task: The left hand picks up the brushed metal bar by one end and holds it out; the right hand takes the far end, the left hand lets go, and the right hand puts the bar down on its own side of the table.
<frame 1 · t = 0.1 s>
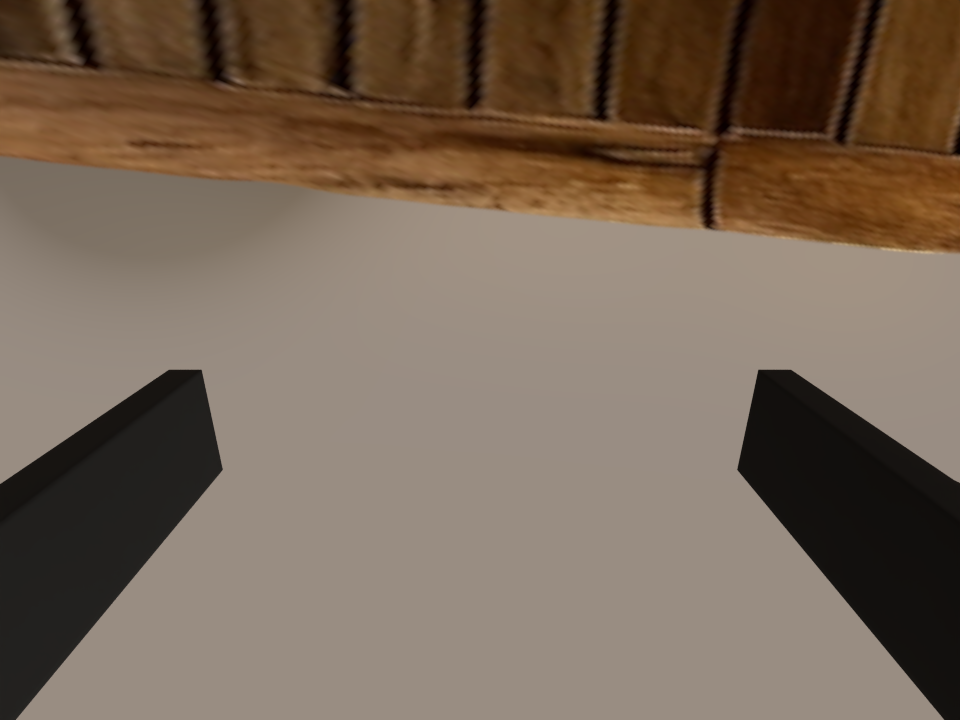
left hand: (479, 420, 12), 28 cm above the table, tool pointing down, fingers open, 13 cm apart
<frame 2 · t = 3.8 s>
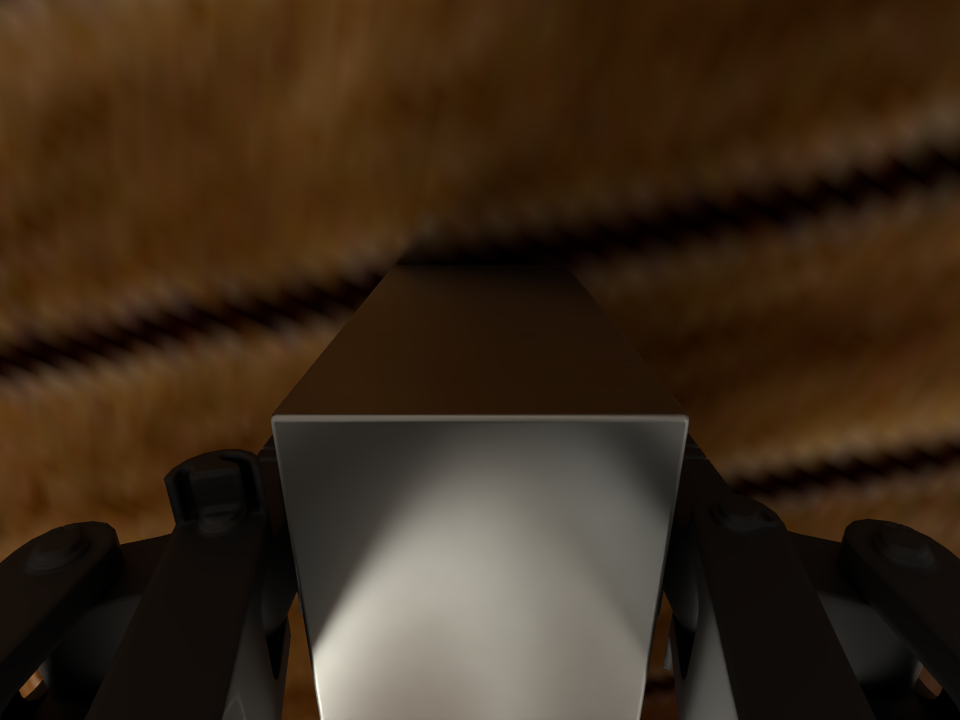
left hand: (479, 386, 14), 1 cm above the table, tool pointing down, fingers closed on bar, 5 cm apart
bar: (480, 611, 18), on the table, touching left hand
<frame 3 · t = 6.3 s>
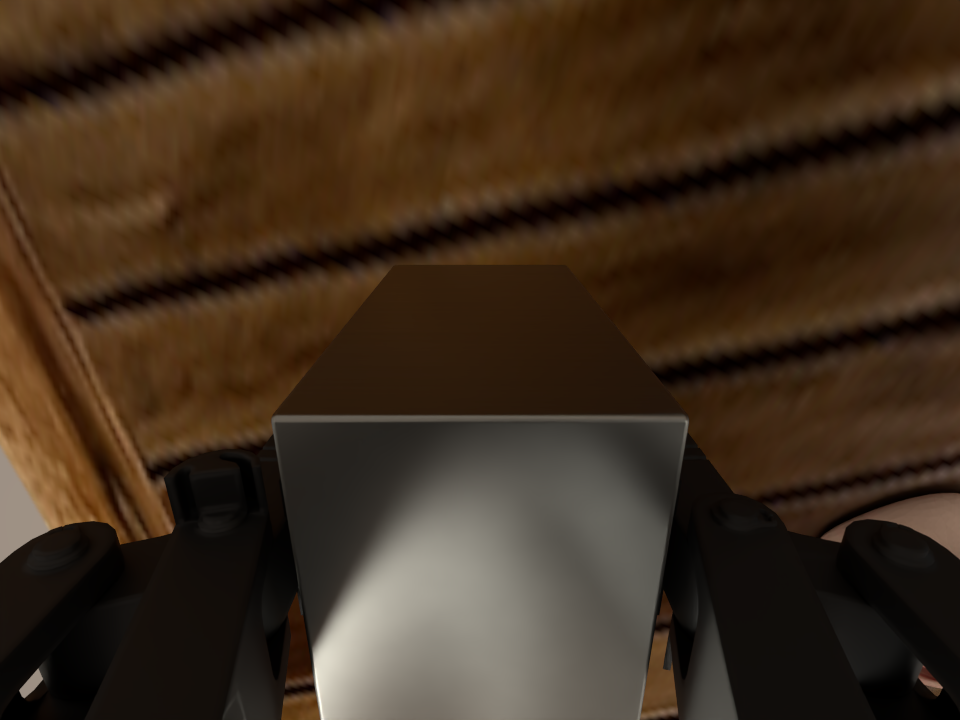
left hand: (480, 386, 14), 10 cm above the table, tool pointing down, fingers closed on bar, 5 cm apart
anatomical model: (917, 576, 29), on the table
bar: (480, 611, 18), point 9 cm above the table, touching left hand
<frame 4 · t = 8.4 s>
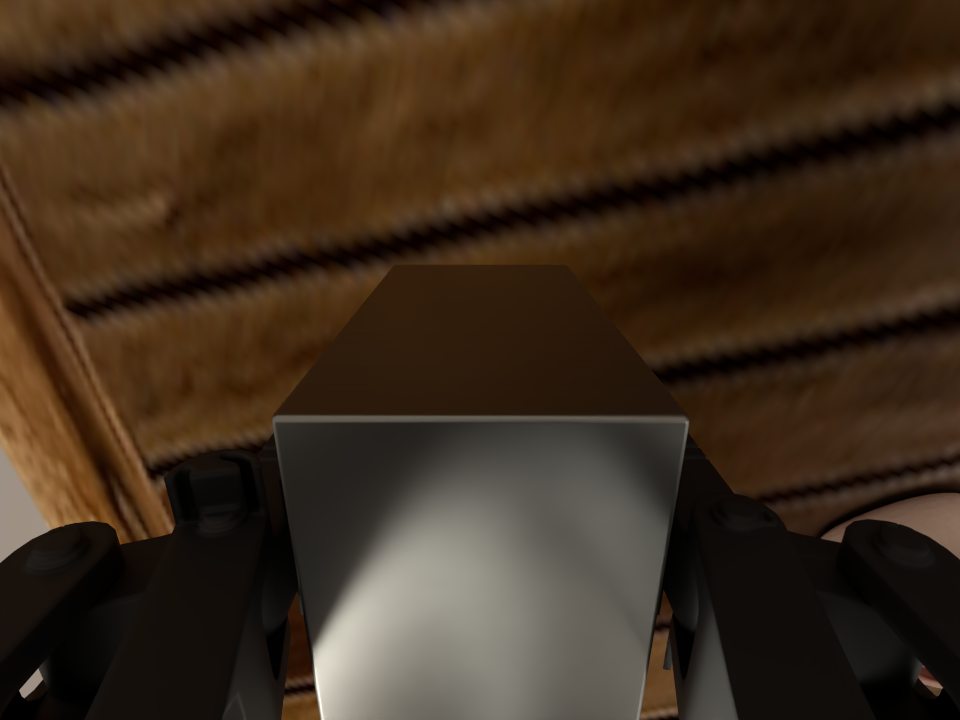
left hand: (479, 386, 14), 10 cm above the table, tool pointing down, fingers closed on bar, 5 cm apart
anatomical model: (917, 576, 29), on the table
bar: (479, 611, 18), point 9 cm above the table, touching left hand, right hand
when the left hand's fingers open (10 cm above the table, at t = 9.0 s): bar stays where it is, held by the right hand.
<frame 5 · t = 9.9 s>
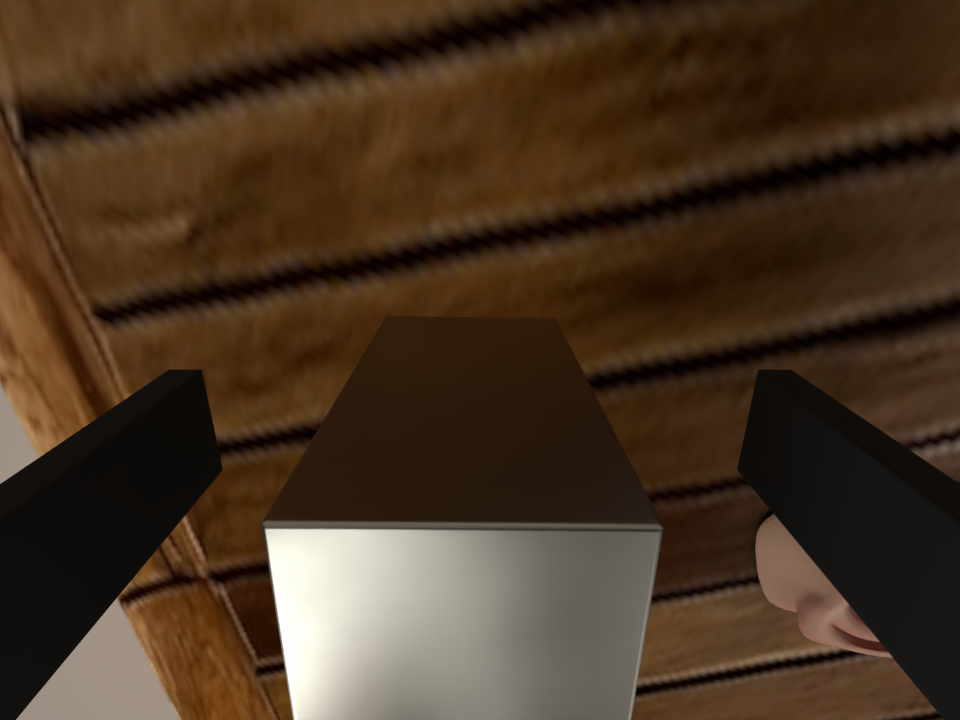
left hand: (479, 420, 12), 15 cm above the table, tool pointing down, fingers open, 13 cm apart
anatomical model: (850, 556, 33), on the table
bar: (468, 649, 18), point 12 cm above the table, touching right hand
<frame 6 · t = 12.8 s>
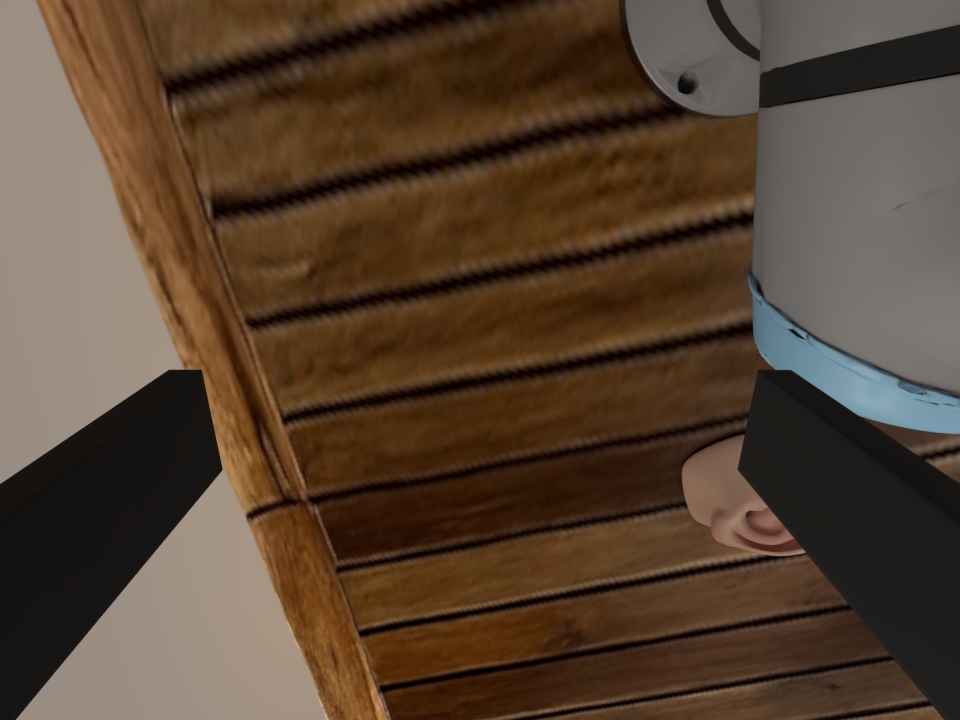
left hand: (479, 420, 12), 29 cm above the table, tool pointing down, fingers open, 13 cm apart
anatomical model: (750, 486, 47), on the table
when the right hand's fingers open (2 cm above the table, at t = 17.1 s): bar drops 1 cm, on the table.
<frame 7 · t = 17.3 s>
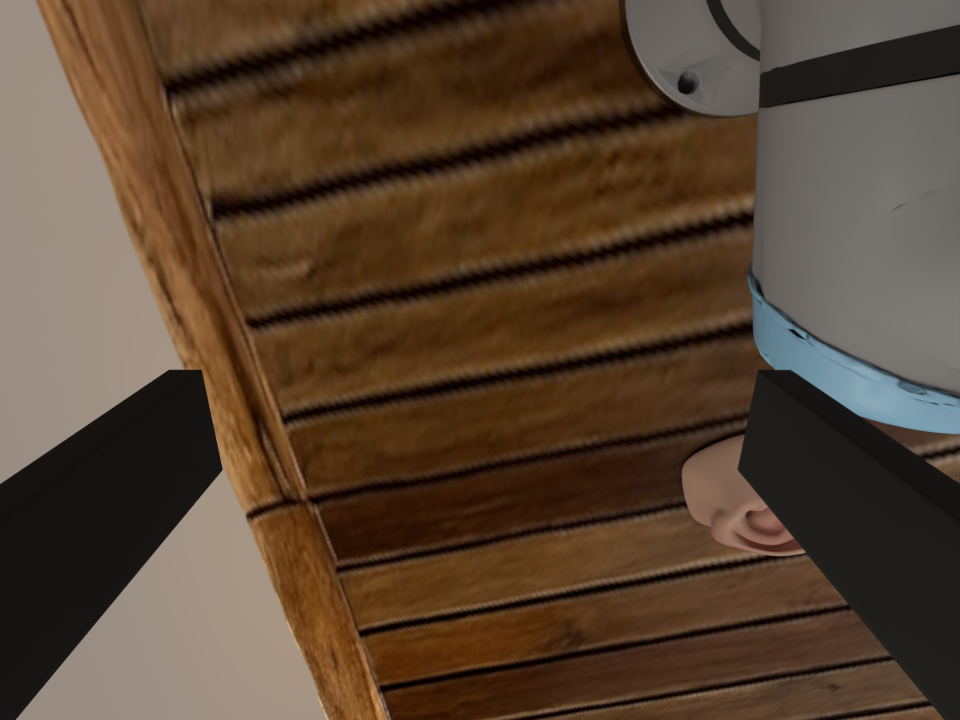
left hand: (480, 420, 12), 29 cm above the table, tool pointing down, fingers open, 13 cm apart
anatomical model: (750, 486, 47), on the table
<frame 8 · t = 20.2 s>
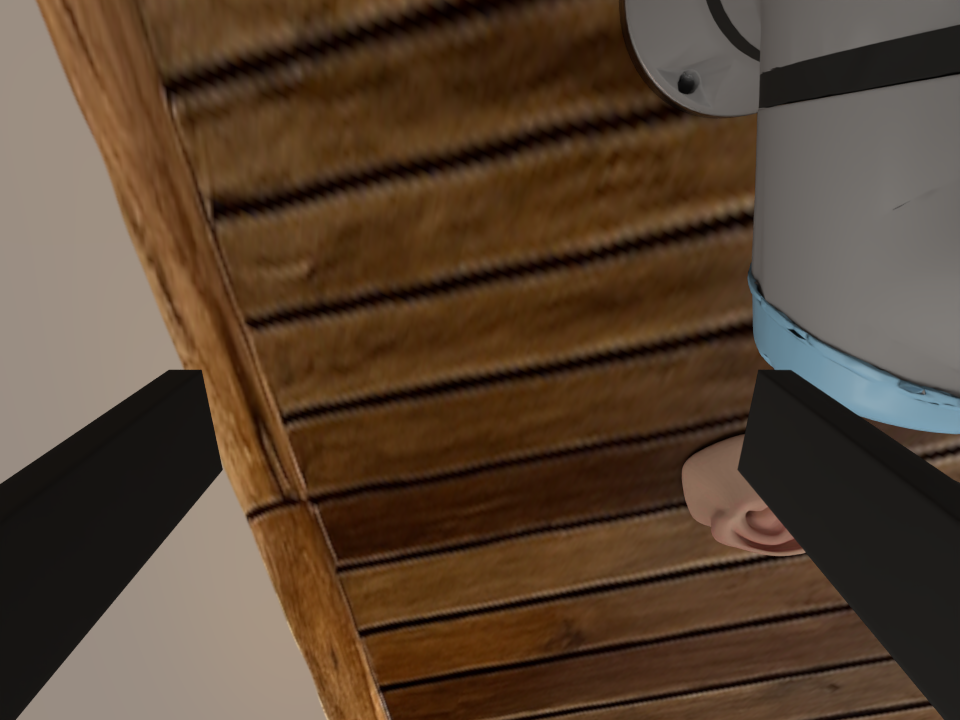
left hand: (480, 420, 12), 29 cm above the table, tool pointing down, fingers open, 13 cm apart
anatomical model: (750, 486, 47), on the table
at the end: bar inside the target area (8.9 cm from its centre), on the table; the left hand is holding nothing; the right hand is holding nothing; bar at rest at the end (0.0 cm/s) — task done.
